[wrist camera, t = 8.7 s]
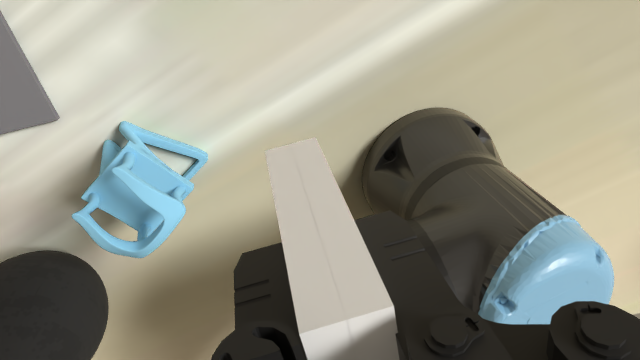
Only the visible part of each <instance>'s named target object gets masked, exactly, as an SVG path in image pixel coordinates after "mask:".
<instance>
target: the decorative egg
mask: <svg viewBox="0 0 640 360" xmlns="http://www.w3.org/2000/svg"><path fill="white" fill-rule="evenodd" d="M107 320H108V297H107V293H106V289H105V286H104V284H103V282H102V280H101V278H100V276H99V275H98V274H97V272H96V271H95V270H94V269H93V268H92V267H91V266H90V265H89V264H88V263H86V262H85V261H83V260H82V259H80V258H78V257H76V256H73V255H71V254H67V253H63V252H57V251H37V252H30V253H26V254H22V255H19V256H16V257H13V258H11V259H8V260H6V261H4V262H2V263H0V360H91V358H92V357H93V355H94V354H95V352H96V350H97V349H98V347H99V344H100V342H101V340H102V338H103V335H104V332H105V329H106V325H107Z"/></svg>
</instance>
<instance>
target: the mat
mask: <svg viewBox="0 0 640 360" xmlns="http://www.w3.org/2000/svg"><path fill="white" fill-rule="evenodd" d="M59 118H60V117H59V116H58V114H57V112H56V110H55V108H54V107H53V105H52V103H51V101H50V99H49V98H48V96H47V94H46V92H45V90H44V89H43V87H42V85H41V83H40V81H39V80H38V78H37V76H36V74H35V72H34V71H33V69H32V67H31V65H30V63H29V62H28V60H27V58H26V56H25V54H24V53H23V51H22V49H21V47H20V45H19V44H18V42H17V40H16V38H15V36H14V35H13V33H12V31H11V29H10V27H9V26H8V24H7V22H6V20H5V18H4V17H3V15H2V13H1V11H0V134H4V133H8V132H12V131H16V130H20V129H24V128H28V127H32V126H36V125H40V124H44V123H48V122H51V121H55V120H58V119H59Z"/></svg>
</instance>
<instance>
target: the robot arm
mask: <svg viewBox="0 0 640 360" xmlns="http://www.w3.org/2000/svg"><path fill="white" fill-rule="evenodd" d="M265 155H266V160H267V165H268V171H269V176H270V181H271V187H272V192H273V197H274V203H275V208H276V213H277V219H278V224H279V229H280V235H281V240H282V242H281V243H278V244H274V245H271V246H267V247H264V248H260V249H257V250H253V251H249V252H246V253H242V255H241V257H240V259H239V262H238V264H237V266H236V268H235V270H234V290H235V293H234V299H235V330H234V331H233V332H232V333H231V334H230V335H229V336H227V337H226V338H225V339H224V340H223V341H222V342H221V343H220V345H219V346H218V348H217V349H216V351H215V352H214V354H213V355H212V359H211V360H640V319H638V318H637V317H635V316H634V315H632V314H630V313H628V312H626V311H624V310H622V309H620V308H618V307H616V306H613V305H608V304H609V301H610V299H611V295H612V291H613V286H614V272H613V267H612V263H611V261H610V259H609V257H608V255H607V253H606V252H605V251H604V249H603V248H602V247H601V246H600V245H599V244H598V243H597V242H596V241H595V240H594V239H593V238H592V237H590V236H589V235H588V234H587V233H586V232H585V231H584V230H583V229H582V228H581V226H580V224H579V223H578V222H577V221H576V220H575V219H573V218H571V217H570V216H567V215H565V214H564V213H563V212H562V211H560V210H559V209H558V208H556V207H555V206H554V205H553V204H551V203H550V202H549V201H548V200H546V199H545V198H544V197H542V196H541V195H540V194H539V193H537V192H536V191H535V190H533V189H532V188H531V187H530V186H528V185H527V184H526V183H524V182H523V181H522V180H521V179H519V178H518V177H517V176H516V175H514V174H513V173H512V172H510V171H509V170H508V169H507V168H505V167H504V165H503V163H502V161H501V159H500V157H499V154H498V152H497V150H496V148H495V146H494V143H493V141H492V139H491V137H490V136H489V134H488V133H487V132H486V131H485V129H484V128H483V127H482V126H481V125H479V124H478V123H477V122H475V121H474V120H473V119H471V118H470V117H468V116H467V115H465V114H463V113H461V112H459V111H456V110H453V109H448V108H429V109H424V110H420V111H416V112H414V113H411V114H409V115H407V116H405V117H403V118H401V119H399V120H398V121H396V122H395V123H394V124H392V125H391V126H390V127H388V128H387V129H386V130H385V131H384V132H383V133H382V134H381V135H380V137H379V138H378V139H377V140H376V142H375V143H374V145H373V146H372V148H371V150H370V151H369V153H368V156H367V158H366V161H365V164H364V168H363V175H362V184H363V190H364V194H365V197H366V199H367V201H368V203H369V205H370V207H371V208H372V210H373V212H374V213H375V215H372V216H368V217H365V218H361V219H358V220H354V219H353V217H352V214H351V212H350V210H349V208H348V206H347V204H346V202H345V199H344V197H343V195H342V193H341V191H340V189H339V186H338V184H337V182H336V180H335V178H334V176H333V173H332V171H331V169H330V167H329V165H328V163H327V160H326V158H325V156H324V154H323V152H322V150H321V147H320V145H319V143H318V141H317V139H316V137H314V138H310V139H306V140H303V141H299V142H295V143H291V144H288V145H284V146H280V147H276V148H273V149H269V150H265Z"/></svg>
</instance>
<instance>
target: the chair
mask: <svg viewBox="0 0 640 360" xmlns="http://www.w3.org/2000/svg"><path fill="white" fill-rule="evenodd" d="M119 131H120V132H121V134H122V135H123V136H124V137H125V138H126V139H127V140H128V143H127V144H126V145H125V146H124V147H123V148H122V149H121V148H120V147H119V146H118V145H117V144H116V143H114V142H113V141H111V140H106V141H105V142H104V145H103V151H102V159H101V166H100V172H99V176H98V177H97V178H96V180H95V181H94V182H93V183H92V184H91V185H90V186H89V188H88V189H87V190H86V191H85V192H84V194H83V195H82V197H81V199H83V200H85V201H87V202H88V204H87V205H86V206H85V207H84V208H83V209H82V210H80V211H78V212H76V213H74V214H72V218H73V219H74V220H75V221H77V222H78V223H79V224H80V225H81V226H82V227H83V228H84V229H85V231H86V232H87V233H88V234H89V236H90V237H91V238H92V239H93V240H94V241H95V242H96V243H97V244H98V245H99V246H100V247H101V248H103V249H105V250H106V251H108V252H111V253H114V254H118V255H123V256H129V257H135V258H143V257H146V256H147V255H149V254H150V253H152V252H153V251H154V250H155V249H157V248H158V247H159V246H160V245H161V244H162V243H163V242H164V241H165V240H166V238H167V237H168V236H169V235H170V234H171V232H172V231H173V230H174V229H175V227H176V226H177V225H178V223H179V222H180V221H181V219H182V218H183V216H184V214H185V212H186V208H185V206H184V204H183V202H182V201H183V200H184V199H185V198H186V196H187V195H188V194H189V193H190V192H191V191H192V190H193V189H194V184H193V183H191V182H190V181H189V180H190V179H191V178H192V177H193V176H194V175H195V174H196V173H197V171H198V170H199V169H200V168H201V167H202V166H203V165H204V164H205V163H206V162H207V160H208V154H207V153H206V152H204V151H202V150H200V149H198V148H195V147H193V146H190V145H187V144H184V143H181V142H178V141H176V140H173V139H170V138H167V137H164V136H161V135H158V134H155V133H153V132H150V131H147V130H145V129H142V128H140V127H137V126H135V125H133V124H131V123H129V122H126V121H123V122H121V123H120V126H119ZM144 143H146V144H149V145H153V146H156V147H159V148H163V149H166V150H169V151H173V152H176V153H179V154H183V155H186V156H190V157H193V158H196V159H198V160H197V161H196V162H195V163H194V164H193V165H192V166H191V168H190V169H189V170H188V171H187V172H186V173H185V174H184V175H183V176H181V175H179V174H178V173H176V172H174V171H173V170H172V169H171V168H169V167H168V166H167V165H166V164H164V163H163V162H162V161H161V160H160V159H158V158H157V157H156V156H155V155H154V154H153V153H152V152H151V151H150V150H149V149H148V148H147V146H146V145H145V144H144ZM96 208H99V209H101V210H103V211H105V212H107V213H109V214H111V215H112V216H114V217H116V218H117V219H119V220H121V221H123V222H124V223H126V224H127V225H129V226H130V227H132V228H134V229H135V230H137V231H138V239H137V241H133V242H131V241H124V240H121V239H118V238H116V237H114V236H112V235H110V234H109V233H107V232H106V231H105V230H104V229H102V228H101V227H100V226H99V225H98V224H97V223H96V222H95V221H94V219H93V218H92V217H91V216H90V215H89V214H90V213H91V212H93V211H94V210H95V209H96ZM163 220H164V221H163ZM162 221H163V222H162ZM156 228H157V229H156ZM155 229H156V230H155ZM154 230H155V231H154ZM153 231H154V232H153ZM152 232H153V233H152ZM151 233H152V234H151Z"/></svg>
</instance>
